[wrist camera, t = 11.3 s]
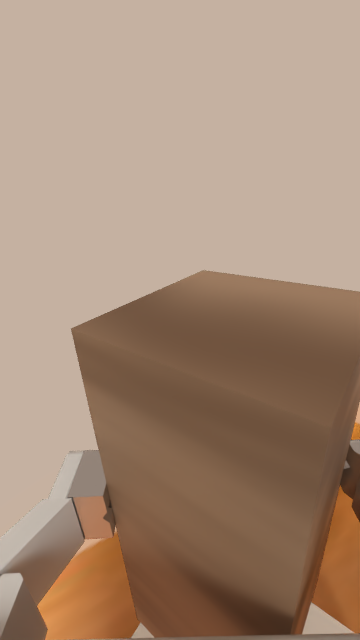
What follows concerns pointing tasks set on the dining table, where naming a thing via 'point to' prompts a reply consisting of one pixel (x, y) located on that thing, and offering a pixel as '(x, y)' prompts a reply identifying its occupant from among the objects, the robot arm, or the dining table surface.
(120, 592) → the dining table surface
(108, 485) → the walnut block
